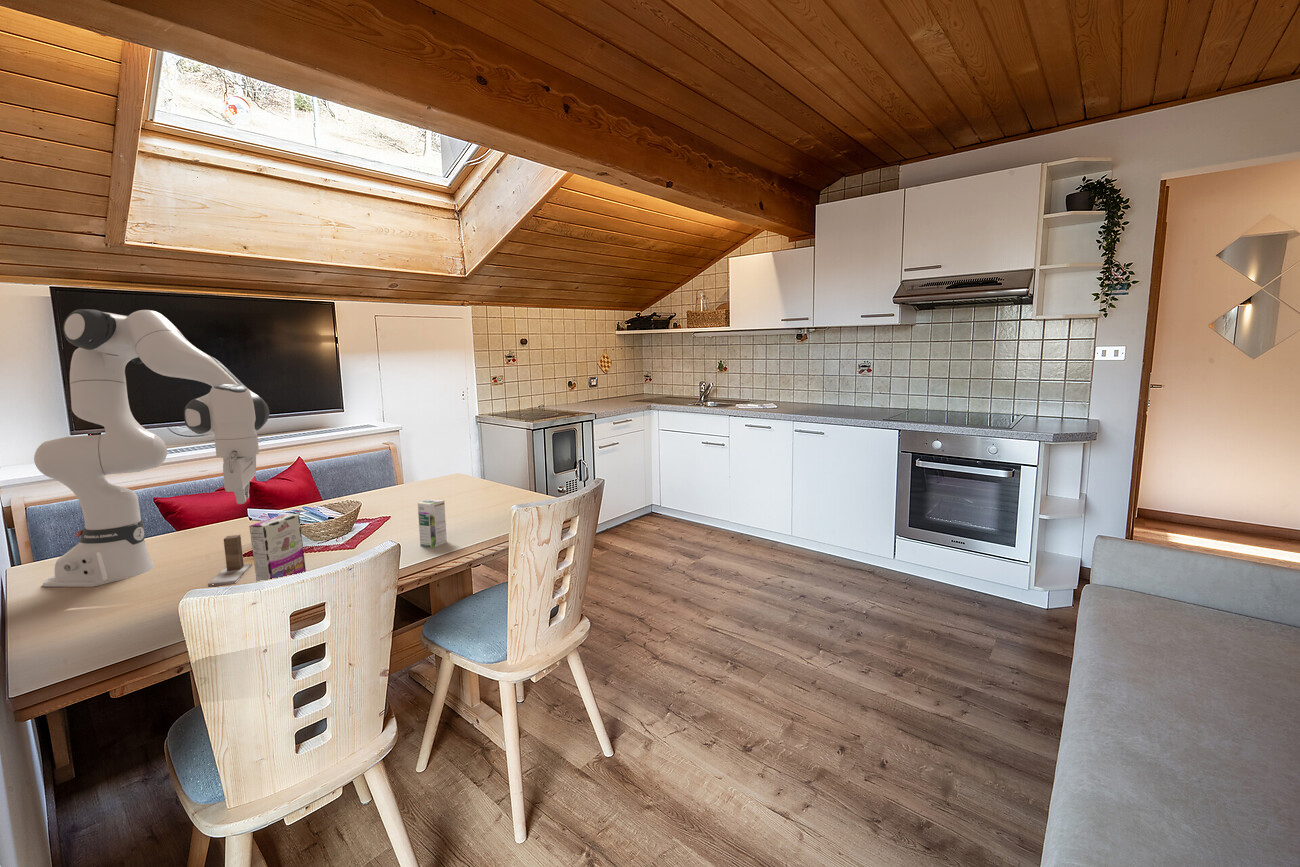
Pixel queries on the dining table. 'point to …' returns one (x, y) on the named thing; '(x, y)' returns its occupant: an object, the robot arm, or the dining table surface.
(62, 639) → the dining table surface
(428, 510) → the syrup box
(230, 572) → the upright block on plate
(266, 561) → the candy bar box
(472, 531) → the dining table surface
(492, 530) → the dining table surface
